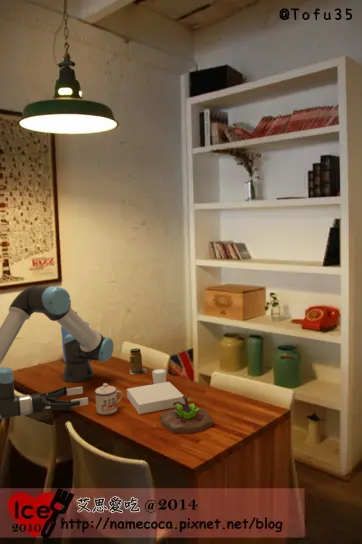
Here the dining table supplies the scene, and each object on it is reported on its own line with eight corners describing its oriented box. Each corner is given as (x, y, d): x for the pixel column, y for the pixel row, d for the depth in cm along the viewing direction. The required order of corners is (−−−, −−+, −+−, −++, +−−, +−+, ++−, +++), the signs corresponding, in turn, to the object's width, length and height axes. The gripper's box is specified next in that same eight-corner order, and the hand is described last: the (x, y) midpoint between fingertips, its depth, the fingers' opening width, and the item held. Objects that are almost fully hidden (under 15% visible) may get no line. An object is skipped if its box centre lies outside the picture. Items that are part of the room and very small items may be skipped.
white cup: (169, 383, 230) (168, 369, 229) (164, 388, 223) (163, 373, 222) (155, 382, 232) (155, 368, 231) (150, 387, 225) (149, 372, 225)
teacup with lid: (101, 417, 194) (100, 389, 193) (92, 410, 201) (90, 383, 200) (127, 409, 201) (126, 382, 199) (117, 402, 208) (116, 377, 207)
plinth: (127, 397, 214) (126, 388, 213) (169, 389, 221) (168, 381, 220) (139, 414, 195) (138, 404, 195) (184, 405, 202) (184, 396, 202)
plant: (172, 438, 174) (170, 409, 172) (154, 418, 192) (153, 391, 190) (221, 427, 181) (220, 399, 180) (200, 408, 199) (199, 382, 198)
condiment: (129, 370, 251) (128, 348, 250) (145, 368, 253) (144, 346, 251) (130, 374, 244) (129, 352, 243) (147, 373, 246) (145, 350, 244)
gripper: (30, 402, 201) (81, 394, 209) (34, 425, 178) (91, 415, 185) (29, 385, 200) (79, 377, 208) (32, 405, 177) (89, 396, 185)
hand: (85, 395), depth 197 cm, fingers open, 13 cm apart
